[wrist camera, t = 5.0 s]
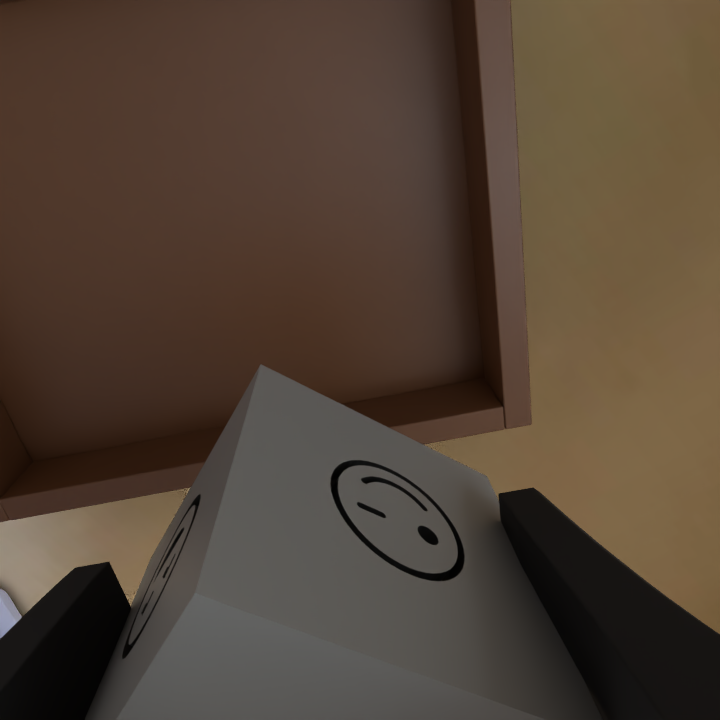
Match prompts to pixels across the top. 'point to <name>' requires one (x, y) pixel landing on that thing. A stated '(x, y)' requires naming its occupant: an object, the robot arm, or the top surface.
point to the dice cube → (335, 585)
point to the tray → (249, 228)
